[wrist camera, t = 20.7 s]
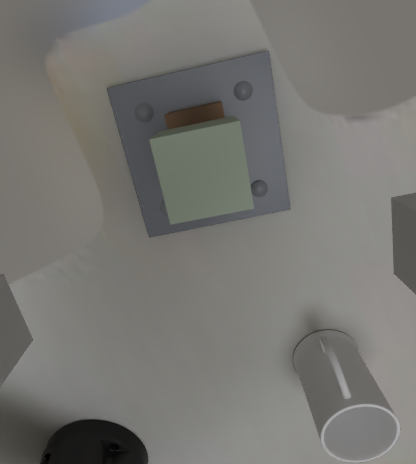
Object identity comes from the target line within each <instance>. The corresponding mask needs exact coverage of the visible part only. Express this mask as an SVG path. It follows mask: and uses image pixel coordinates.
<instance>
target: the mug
mask: <svg viewBox="0 0 416 464" xmlns="http://www.w3.org/2000/svg"><path fill="white" fill-rule="evenodd" d="M293 364H294V367H295V370H296V371H297V373H298V374H299V377H300V380H301V383H302V386H303V389H304V392H305V395H306V398H307V401H308V404H309V407H310V410H311V413H312V416H313V419H314V422H315V425H316V428H317V431H318V434H319V437H320V440H321V443H322V446H323V448H324V449H325V451H326V452H327V453H328V454H329V455H331V456H332V457H334V458H336V459H338V460H341V461H345V462H364V461H369V460H372V459H375V458H377V457H379V456H381V455H383V454H384V453H386V452H387V451H388V450H389V449H391V448H392V446H393V445H394V444H395V443H396V441H397V439H398V437H399V433H400V425H399V421H398V419H397V417H396V415H395V414H394V412H393V410H392V409H391V407H390V405H389V404H388V402H387V400H386V398H385V397H384V395H383V393H382V392H381V390H380V388H379V387H378V385H377V383H376V381H375V380H374V378H373V376H372V375H371V373H370V371H369V370H368V368H367V366H366V364H365V363H364V361H363V359H362V358H361V356H360V354H359V352H358V348H357V345H356V344H355V342H354V341H353V339H352V338H351V337H349V336H348V335H346V334H345V333H342V332H340V331H335V330H323V331H318V332H315V333H313V334H310V335H309V336H307V337H306V338H304V339H303V340H302V341H301V342H300V343H299V344H298V346H297V347H296V349H295V352H294V355H293Z"/></svg>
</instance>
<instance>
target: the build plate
mask: <svg viewBox="0 0 416 464" xmlns="http://www.w3.org/2000/svg"><path fill="white" fill-rule="evenodd" d="M107 91H108V95H109V98H110V102H111V105H112V109H113V112H114V116H115V119H116V123H117V126H118V130H119V133H120V137H121V140H122V144H123V147H124V151H125V155H126V158H127V162H128V165H129V169H130V172H131V176H132V179H133V183H134V186H135V190H136V193H137V197H138V200H139V204H140V207H141V211H142V214H143V218H144V221H145V225H146V228H147V232H148V235H149V237H154V236H159V235H164V234H169V233H174V232H179V231H184V230H189V229H194V228H199V227H204V226H209V225H214V224H219V223H224V222H229V221H234V220H239V219H244V218H249V217H254V216H259V215H264V214H269V213H274V212H279V211H285V210H290V202H289V194H288V187H287V180H286V172H285V165H284V158H283V150H282V143H281V136H280V128H279V121H278V114H277V106H276V99H275V92H274V84H273V77H272V70H271V62H270V55H269V51H266V52H261V53H257V54H253V55H248V56H244V57H240V58H235V59H231V60H226V61H222V62H218V63H213V64H209V65H205V66H200V67H196V68H192V69H187V70H183V71H178V72H174V73H170V74H165V75H161V76H157V77H152V78H148V79H143V80H139V81H135V82H130V83H126V84H122V85H117V86H113V87H109V88H107ZM217 101H221V102H222V104H223V109H224V115H225V118H226V117H231V116H235V117H236V118H237V119H239V120H240V124H241V130H242V136H243V142H244V148H245V155H246V161H247V167H248V173H249V179H250V185H251V192H252V198H253V204H254V209H250V210H245V211H240V212H234V213H229V214H224V215H219V216H213V217H208V218H203V219H198V220H193V221H187V222H182V223H177V224H172V225H170V221H169V217H168V213H167V209H166V205H165V201H164V197H163V193H162V189H161V185H160V181H159V177H158V173H157V169H156V165H155V161H154V157H153V153H152V149H151V145H150V141H149V139H150V138H152V137H153V136H154V135H155V134H157V133H158V132H159V131H163V130H168V129H167V125H166V121H165V117H164V115H165V114H167V113H169V112H172V111H176V110H181V109H185V108H190V107H194V106H199V105H204V104H208V103H213V102H217Z"/></svg>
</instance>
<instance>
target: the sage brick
mask: <svg viewBox="0 0 416 464" xmlns="http://www.w3.org/2000/svg"><path fill="white" fill-rule="evenodd" d="M149 141H150V145H151V149H152V153H153V157H154V161H155V165H156V169H157V173H158V177H159V181H160V185H161V189H162V193H163V197H164V201H165V205H166V209H167V213H168V217H169V221H170V225H172V224H177V223H182V222H187V221H193V220H198V219H203V218H208V217H213V216H219V215H224V214H229V213H234V212H240V211H245V210H250V209H254V204H253V198H252V192H251V185H250V179H249V173H248V167H247V161H246V155H245V148H244V142H243V136H242V130H241V124H240V120H239V119H237V118H236V117H235V116H231V117H226V118H221V119H216V120H211V121H207V122H202V123H197V124H192V125H187V126H183V127H178V128H173V129H168V130H163V131H159V132H158V133H157V134H155V135H154V136H153V137H152V138H150V139H149Z"/></svg>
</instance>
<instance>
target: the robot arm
mask: <svg viewBox="0 0 416 464" xmlns="http://www.w3.org/2000/svg"><path fill="white" fill-rule="evenodd" d="M391 205H392V233H393V261H394V274H395V275H396V276H397V277H398V278H399V279H400V280H401V281H402V282H403V283H404V284H405V285H406V286H407V287H409V288H410V289H411V290H412V291H413V292H414V293H415V294H416V193H412V194H407V195H402V196H397V197H392V198H391ZM32 341H33V338H32V336H31V334H30V332H29V329H28V327H27V325H26V323H25V321H24V318H23V316H22V314H21V312H20V309H19V307H18V305H17V303H16V301H15V298H14V296H13V294H12V292H11V290H10V287H9V285H8V283H7V281H6V279H5V277H4V274H2V275H0V386H1V385H2V383H3V382H4V381H5V379H6V378H7V376H8V375H9V373H10V372H11V371H12V369H13V368H14V366H15V365H16V364H17V362H18V361H19V359H20V358H21V356H22V355H23V354H24V352H25V351H26V349H27V348H28V346H29V345H30V344H31V342H32ZM40 464H148V456H147V452H146V449H145V447H144V445H143V444H142V442H141V441H140V440H139V439H138V438H137V437H136V436H135V435H134V434H133V433H131V432H130V431H128V430H127V429H125V428H123V427H121V426H118V425H116V424H113V423H109V422H104V421H94V420H90V421H80V422H76V423H72V424H69V425H67V426H65V427H63V428H61V429H60V430H58V431H57V432H56V433H55V434H54V435H53V436H52V437H51V439H50V440H49V442H48V444H47V446H46V449H45V451H44V453H43V455H42V459H41V463H40Z"/></svg>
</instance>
